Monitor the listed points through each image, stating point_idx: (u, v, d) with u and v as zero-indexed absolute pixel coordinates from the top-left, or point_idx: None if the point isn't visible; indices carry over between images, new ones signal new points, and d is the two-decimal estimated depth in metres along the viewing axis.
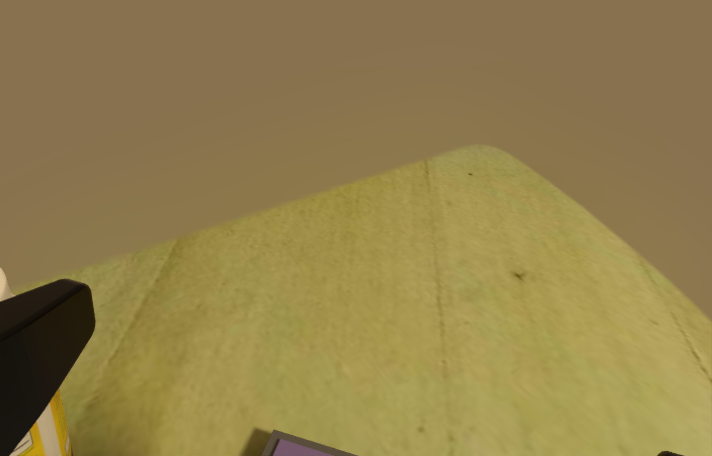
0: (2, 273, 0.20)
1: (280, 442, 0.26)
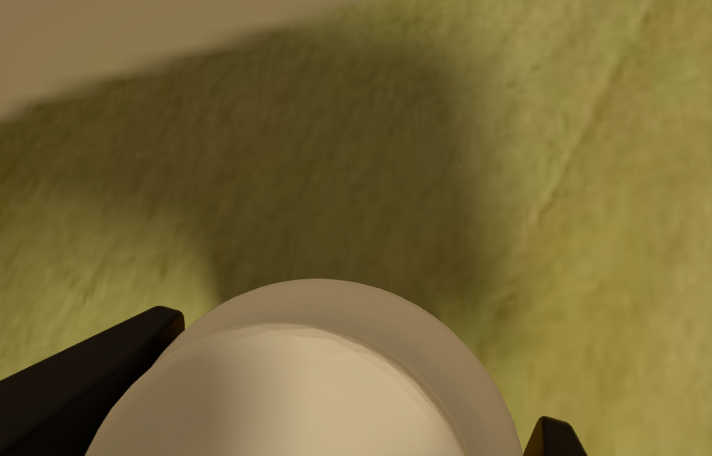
0: None
1: None
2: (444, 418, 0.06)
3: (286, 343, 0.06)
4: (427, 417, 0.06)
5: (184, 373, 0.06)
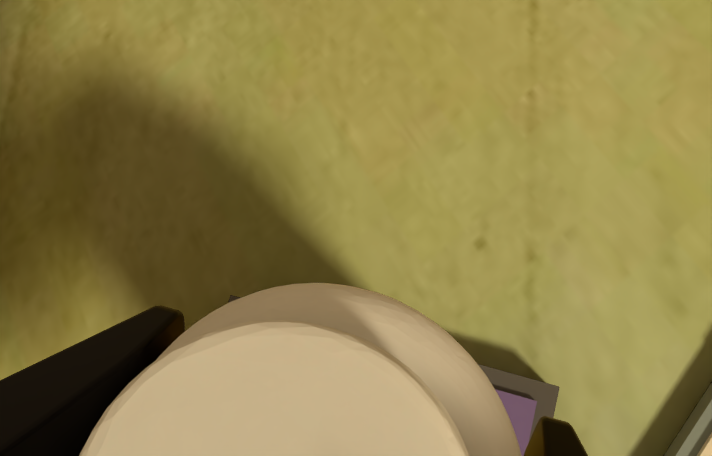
0: None
1: None
2: (444, 417, 0.06)
3: (285, 341, 0.06)
4: (427, 416, 0.06)
5: (181, 372, 0.06)
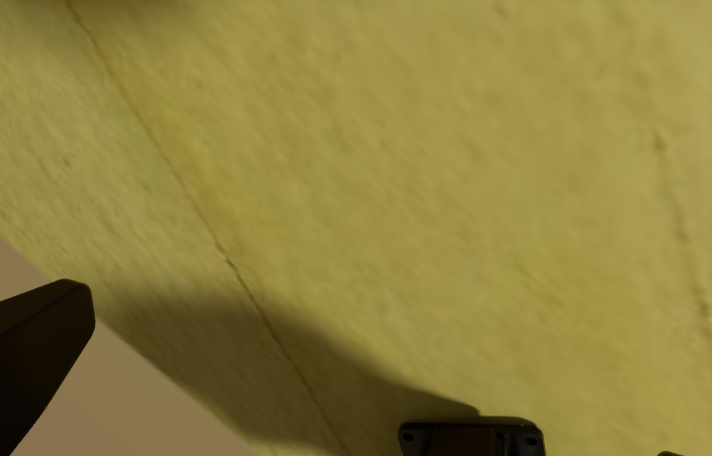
0: None
1: None
2: None
3: None
4: None
5: None
